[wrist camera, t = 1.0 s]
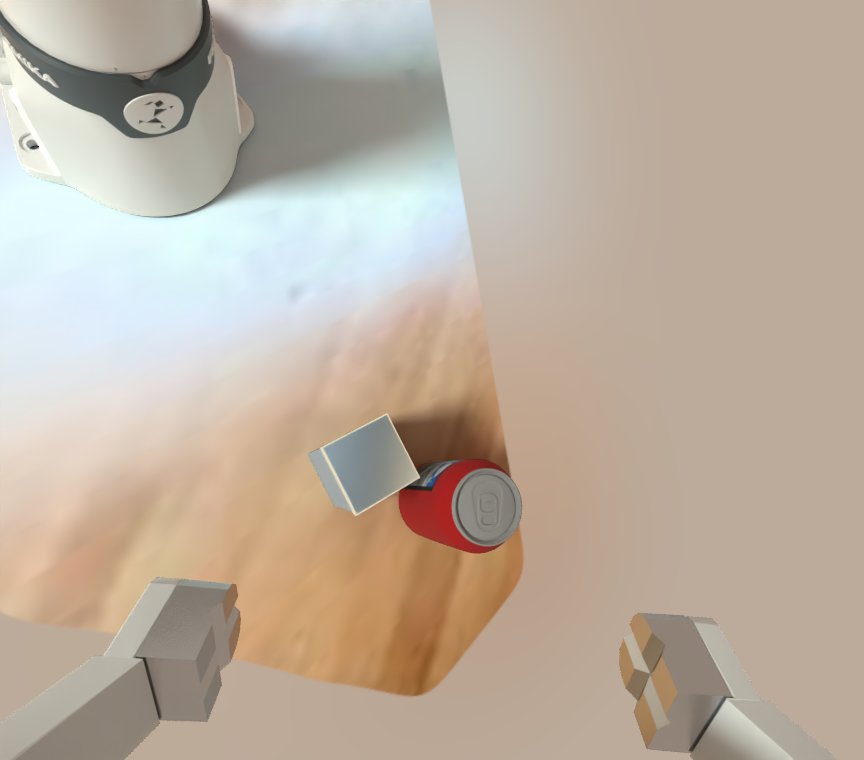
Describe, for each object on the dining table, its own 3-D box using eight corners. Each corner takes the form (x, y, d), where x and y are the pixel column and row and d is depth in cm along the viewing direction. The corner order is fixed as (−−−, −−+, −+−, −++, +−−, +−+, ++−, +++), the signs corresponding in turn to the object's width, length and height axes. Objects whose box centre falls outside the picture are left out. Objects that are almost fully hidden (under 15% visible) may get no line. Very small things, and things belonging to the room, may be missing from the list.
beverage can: (463, 462, 47) (528, 458, 36) (464, 535, 46) (533, 554, 35) (395, 462, 45) (443, 457, 34) (395, 539, 43) (444, 560, 32)
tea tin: (305, 453, 42) (321, 447, 33) (358, 426, 44) (387, 413, 35) (333, 507, 42) (356, 515, 33) (384, 477, 44) (420, 477, 35)
